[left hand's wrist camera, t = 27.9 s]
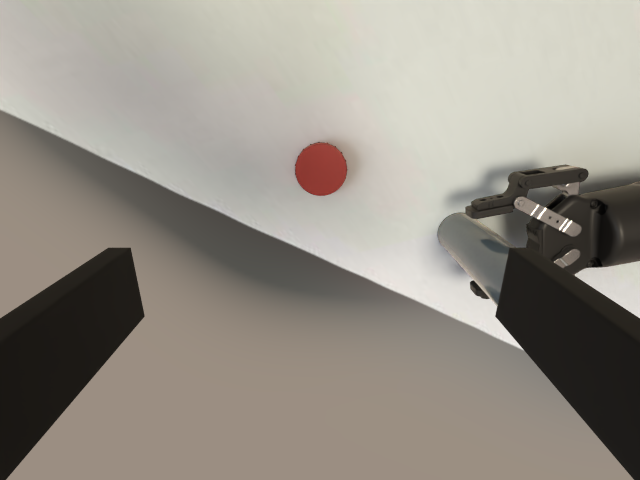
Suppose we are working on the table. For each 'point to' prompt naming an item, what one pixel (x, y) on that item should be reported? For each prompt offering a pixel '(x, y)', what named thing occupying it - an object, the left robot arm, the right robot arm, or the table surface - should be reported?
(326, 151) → the lid
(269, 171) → the table surface
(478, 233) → the jar
